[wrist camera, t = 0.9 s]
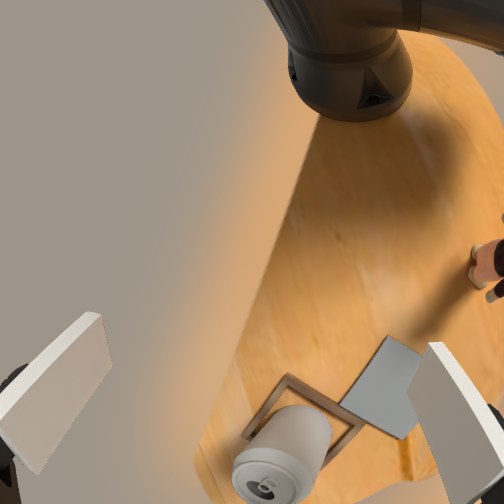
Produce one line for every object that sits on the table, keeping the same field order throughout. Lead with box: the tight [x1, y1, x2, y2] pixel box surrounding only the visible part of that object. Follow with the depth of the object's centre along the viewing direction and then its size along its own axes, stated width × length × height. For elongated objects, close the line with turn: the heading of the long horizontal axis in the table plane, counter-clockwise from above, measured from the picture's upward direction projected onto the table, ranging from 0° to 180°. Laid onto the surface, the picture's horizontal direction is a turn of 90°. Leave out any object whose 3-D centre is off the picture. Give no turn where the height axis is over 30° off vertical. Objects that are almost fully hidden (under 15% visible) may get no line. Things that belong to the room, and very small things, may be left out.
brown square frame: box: [242, 373, 366, 472], centre depth 28 cm, size 11×11×1 cm
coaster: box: [339, 335, 422, 440], centre depth 25 cm, size 9×9×1 cm
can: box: [231, 405, 333, 504], centre depth 23 cm, size 8×8×12 cm
